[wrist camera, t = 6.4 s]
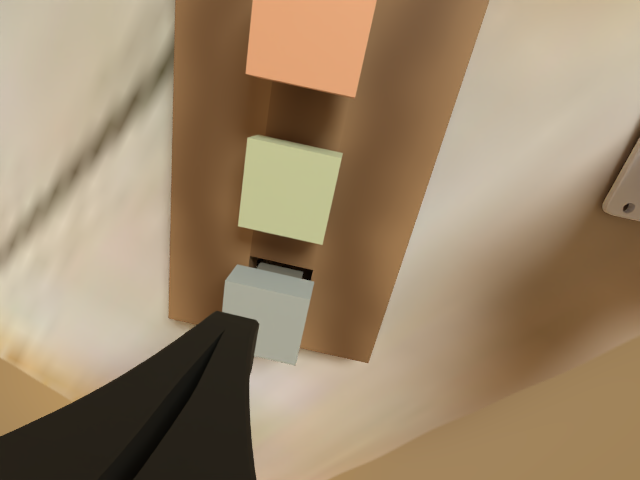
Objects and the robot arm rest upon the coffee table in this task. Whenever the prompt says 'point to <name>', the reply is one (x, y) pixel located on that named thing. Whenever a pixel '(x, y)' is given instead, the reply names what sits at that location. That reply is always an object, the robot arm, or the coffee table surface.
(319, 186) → the pale green cube
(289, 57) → the terracotta key
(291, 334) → the pale grey cube
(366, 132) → the brown wooden board
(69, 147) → the coffee table surface
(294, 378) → the coffee table surface
